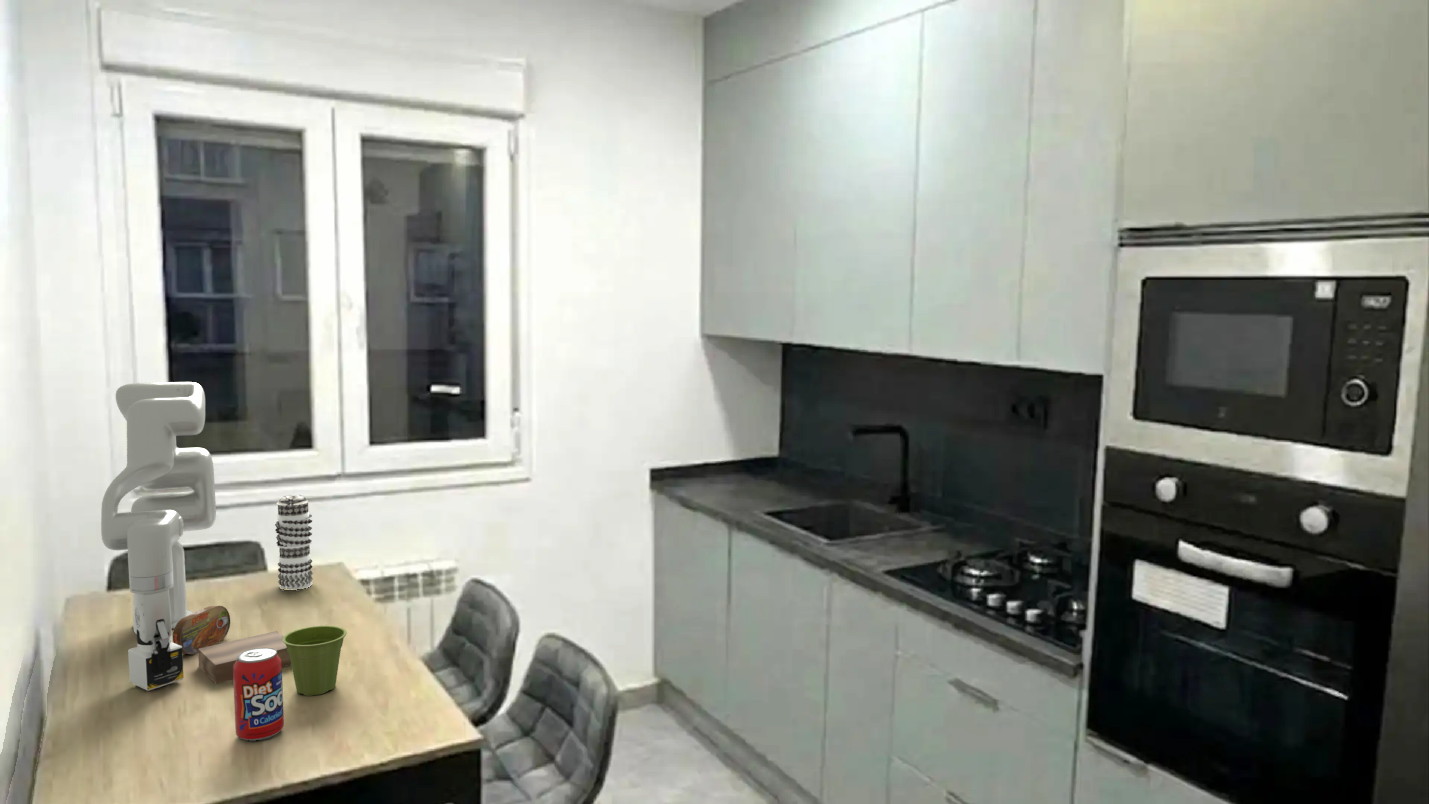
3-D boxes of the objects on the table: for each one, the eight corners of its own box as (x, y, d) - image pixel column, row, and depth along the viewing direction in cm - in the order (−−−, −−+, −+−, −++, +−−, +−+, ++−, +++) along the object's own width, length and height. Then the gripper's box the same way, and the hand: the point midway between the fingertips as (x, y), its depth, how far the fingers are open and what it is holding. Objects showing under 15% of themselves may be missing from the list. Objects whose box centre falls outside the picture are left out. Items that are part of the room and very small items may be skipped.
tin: (183, 660, 200) (181, 622, 199) (170, 659, 201) (168, 621, 200) (232, 636, 215) (230, 601, 214) (220, 635, 215) (219, 600, 215)
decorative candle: (321, 583, 255) (319, 495, 253) (294, 593, 247) (291, 501, 244) (297, 579, 259) (294, 491, 256) (269, 588, 250) (266, 498, 248)
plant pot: (357, 689, 186) (356, 635, 185) (297, 706, 178) (295, 650, 177) (334, 672, 195) (332, 620, 193) (275, 688, 186) (273, 634, 185)
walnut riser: (198, 666, 196) (197, 648, 196) (277, 648, 208) (276, 631, 207) (216, 683, 188) (215, 664, 188) (297, 663, 199) (296, 645, 199)
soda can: (252, 723, 171) (249, 644, 169) (292, 725, 170) (290, 646, 169) (226, 742, 163) (222, 661, 162) (268, 745, 162) (264, 663, 161)
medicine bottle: (147, 691, 182) (144, 633, 181) (129, 683, 186) (125, 625, 185) (184, 679, 188) (181, 622, 187) (165, 671, 192) (162, 615, 191)
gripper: (119, 574, 188) (124, 656, 190) (141, 595, 176) (146, 683, 178) (161, 567, 193) (165, 647, 196) (185, 587, 181) (189, 672, 183)
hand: (156, 664), depth 187 cm, fingers closed on medicine bottle, 8 cm apart
